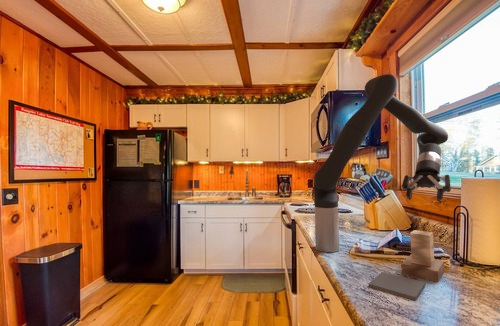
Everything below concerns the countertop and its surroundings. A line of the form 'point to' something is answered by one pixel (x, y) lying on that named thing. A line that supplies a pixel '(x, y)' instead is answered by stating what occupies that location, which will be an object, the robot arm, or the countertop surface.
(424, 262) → the maple block
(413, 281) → the slate mat
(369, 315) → the countertop surface
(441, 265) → the walnut ledge
